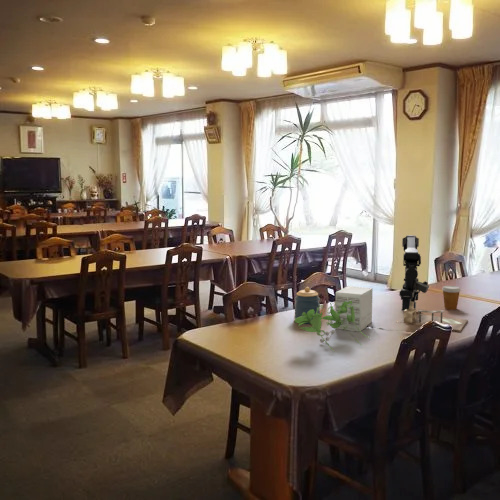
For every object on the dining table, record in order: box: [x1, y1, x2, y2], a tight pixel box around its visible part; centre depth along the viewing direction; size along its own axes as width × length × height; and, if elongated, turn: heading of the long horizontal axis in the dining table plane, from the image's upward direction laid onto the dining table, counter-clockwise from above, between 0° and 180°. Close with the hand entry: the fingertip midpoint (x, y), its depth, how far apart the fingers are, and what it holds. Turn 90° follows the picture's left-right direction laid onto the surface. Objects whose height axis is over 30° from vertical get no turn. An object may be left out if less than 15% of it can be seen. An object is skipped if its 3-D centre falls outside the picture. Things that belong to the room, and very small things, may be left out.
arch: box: [403, 301, 417, 323], centre depth 269 cm, size 4×8×10 cm, turn 149°
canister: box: [293, 286, 321, 325], centre depth 273 cm, size 13×13×18 cm
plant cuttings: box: [293, 301, 370, 351], centre depth 231 cm, size 35×17×22 cm
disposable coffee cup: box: [441, 285, 461, 311], centre depth 298 cm, size 10×10×12 cm
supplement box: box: [334, 285, 373, 333], centre depth 263 cm, size 17×13×18 cm
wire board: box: [396, 309, 469, 333], centre depth 268 cm, size 30×22×7 cm
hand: (410, 307), depth 269 cm, fingers open, 9 cm apart
